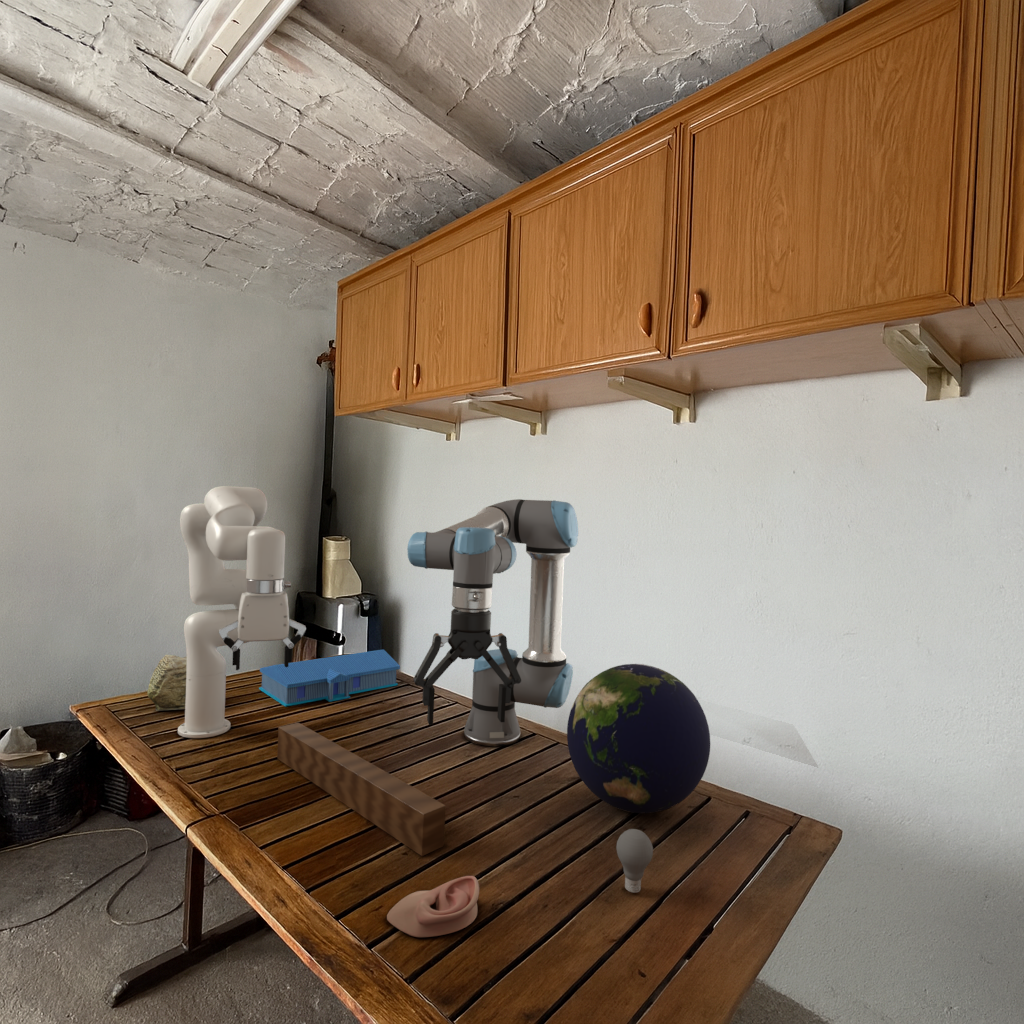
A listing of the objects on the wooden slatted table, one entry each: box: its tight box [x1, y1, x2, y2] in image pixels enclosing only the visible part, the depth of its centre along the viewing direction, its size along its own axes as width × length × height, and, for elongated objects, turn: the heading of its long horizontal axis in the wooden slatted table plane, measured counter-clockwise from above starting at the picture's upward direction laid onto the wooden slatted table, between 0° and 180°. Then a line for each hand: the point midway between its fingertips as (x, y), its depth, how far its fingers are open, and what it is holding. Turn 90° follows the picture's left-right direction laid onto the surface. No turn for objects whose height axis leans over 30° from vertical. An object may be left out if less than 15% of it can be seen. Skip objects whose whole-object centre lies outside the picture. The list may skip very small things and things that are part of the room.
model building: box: [258, 649, 401, 707], centre depth 208 cm, size 39×24×10 cm, turn 132°
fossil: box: [147, 654, 187, 712], centre depth 185 cm, size 9×18×15 cm, turn 132°
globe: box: [566, 663, 711, 814], centre depth 135 cm, size 30×30×30 cm
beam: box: [276, 722, 446, 857], centre depth 134 cm, size 56×5×8 cm, turn 46°
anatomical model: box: [386, 875, 480, 938], centre depth 98 cm, size 13×4×12 cm
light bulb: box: [615, 828, 654, 894], centre depth 106 cm, size 6×6×10 cm
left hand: (262, 667), depth 135 cm, fingers open, 9 cm apart
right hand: (465, 721), depth 120 cm, fingers open, 13 cm apart
